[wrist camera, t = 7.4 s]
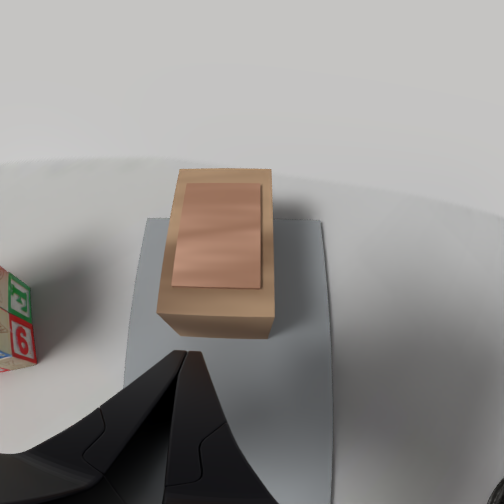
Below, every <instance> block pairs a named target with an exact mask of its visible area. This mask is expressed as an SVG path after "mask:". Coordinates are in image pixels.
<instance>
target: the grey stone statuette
mask: <svg viewBox="0 0 504 504" xmlns="http://www.w3.org/2000/svg"><path fill="white" fill-rule="evenodd" d="M487 504H504V478H503V479H502V480H501V482H500V483H499V484H498V485H497V487H496V488H495V490H494V491H493V493H492V495H491V497H490V499H489V501H488V503H487Z"/></svg>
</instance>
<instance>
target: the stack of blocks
mask: <svg viewBox="0 0 504 504" xmlns="http://www.w3.org/2000/svg"><path fill="white" fill-rule="evenodd" d="M36 364H37V359H36V351H35V343H34V335H33V326H32V318H31V301H30V287H29V286H27V285H26V284H25V283H23V282H22V281H21V280H19V279H18V278H17V277H15V276H14V275H13V274H11V273H10V272H7V271H6V270H5V269H3V268H2V267H1V266H0V372H5V371H9V370H15V369H20V368H25V367H29V366H34V365H36Z"/></svg>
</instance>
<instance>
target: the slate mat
mask: <svg viewBox="0 0 504 504" xmlns="http://www.w3.org/2000/svg"><path fill="white" fill-rule="evenodd" d="M169 221H170V218H147V223H146V228H145V232H144V237H143V242H142V247H141V253H140V258H139V264H138V269H137V275H136V281H135V287H134V294H133V300H132V307H131V315H130V323H129V331H128V340H127V349H126V360H125V371H124V385H123V389H124V388H125V387H126V386H128V385H129V384H130V383H131V382H133V381H134V380H135V379H137V378H138V377H139V376H141V375H142V374H143V373H145V372H146V371H147V370H148V369H150V368H151V367H152V366H154V365H155V364H156V363H157V362H159V361H160V360H161V359H163V358H164V357H165V356H166V355H168V354H169V353H170V352H171V351H173V350H185V351H187V352H188V351H201V352H202V354H203V357H204V360H205V363H206V366H207V368H208V371H209V374H210V377H211V380H212V382H213V385H214V388H215V390H216V393H217V396H218V398H219V401H220V404H221V406H222V409H223V411H224V414H225V416H226V419H227V421H228V424H229V426H230V429H231V431H232V433H233V435H234V438H235V440H236V442H237V444H238V446H239V448H240V449H241V451H242V453H243V454H244V456H245V458H246V459H247V461H248V463H249V464H250V465H251V467H252V468H253V470H254V471H255V473H256V474H257V476H258V477H259V478H260V480H261V481H262V483H263V484H264V485H265V487H266V488H267V489H268V491H269V492H270V493H271V495H272V496H273V497H274V498H275V500H276V501H277V502H278V503H279V504H330V499H331V481H332V450H333V392H332V359H331V338H330V321H329V306H328V293H327V281H326V270H325V259H324V250H323V240H322V232H321V223H320V220H296V219H273V244H274V301H275V318H274V321H273V324H272V327H271V330H270V333H269V336H268V339H227V338H203V337H185V336H180V335H179V334H178V333H177V332H175V331H174V330H173V329H172V328H171V327H170V326H169V325H168V324H167V323H166V322H165V321H164V320H163V319H162V318H161V317H160V316H159V315H158V314H157V313H156V310H157V302H158V294H159V286H160V278H161V271H162V264H163V258H164V251H165V245H166V239H167V233H168V227H169Z"/></svg>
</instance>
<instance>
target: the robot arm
mask: <svg viewBox="0 0 504 504" xmlns="http://www.w3.org/2000/svg"><path fill="white" fill-rule="evenodd" d="M0 504H279V503H278V502H277V501H276V500H275V498H274V497H273V496H272V495H271V493H270V492H269V491H268V489H267V488H266V487H265V485H264V484H263V483H262V481H261V480H260V478H259V477H258V476H257V474H256V473H255V471H254V470H253V468H252V467H251V465H250V464H249V463H248V461H247V459H246V458H245V456H244V454H243V453H242V451H241V449H240V448H239V446H238V444H237V442H236V440H235V438H234V435H233V433H232V431H231V429H230V426H229V424H228V421H227V419H226V416H225V414H224V411H223V409H222V406H221V404H220V401H219V398H218V396H217V393H216V390H215V388H214V385H213V382H212V380H211V377H210V374H209V371H208V368H207V366H206V363H205V360H204V357H203V354H202V352H201V351H188V352H187V351H185V350H173V351H171V352H170V353H169V354H168V355H166V356H165V357H164V358H163V359H161V360H160V361H159V362H157V363H156V364H155V365H154V366H152V367H151V368H150V369H148V370H147V371H146V372H145V373H143V374H142V375H141V376H139V377H138V378H137V379H135V380H134V381H133V382H131V383H130V384H129V385H128V386H126V387H125V388H124V389H122V390H121V391H120V392H118V393H117V394H116V395H114V396H113V397H112V398H110V399H109V400H108V401H106V402H105V403H104V404H102V405H101V406H100V408H97V409H96V410H94V411H93V412H92V413H90V414H89V415H87V416H86V417H84V418H83V419H82V420H80V421H79V422H77V423H76V424H74V425H72V426H71V427H69V428H67V429H66V430H64V431H62V432H61V433H59V434H57V435H55V436H54V437H52V438H50V439H48V440H46V441H44V442H43V443H41V444H39V445H37V446H35V447H33V448H32V449H29V450H27V451H25V452H22V453H17V454H1V453H0Z"/></svg>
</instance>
